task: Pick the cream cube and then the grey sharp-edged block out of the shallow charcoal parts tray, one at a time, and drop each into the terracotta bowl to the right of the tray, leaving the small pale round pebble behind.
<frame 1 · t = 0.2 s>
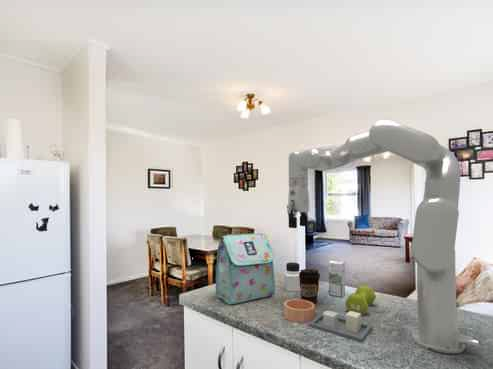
hand: (298, 226, 111), 31 cm above the worktop, fingers open, 9 cm apart
clear bottle: (337, 295, 124), on the worktop
bowl: (299, 317, 100), on the worktop
cream cube: (353, 328, 90), resting on tray
grey sharp-edged block: (330, 328, 90), resting on tray
dumbbell: (361, 309, 108), on the worktop
pebble c: (327, 320, 96), resting on tray
coffee cup: (309, 303, 113), on the worktop
lunch bag: (244, 297, 121), on the worktop
tray: (340, 329, 91), on the worktop
medicine bottle: (292, 289, 131), on the worktop
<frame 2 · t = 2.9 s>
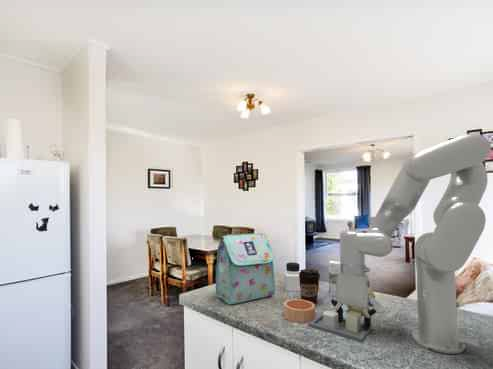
hand: (353, 325, 90), 2 cm above the worktop, fingers open, 7 cm apart
nothing on the worktop moved.
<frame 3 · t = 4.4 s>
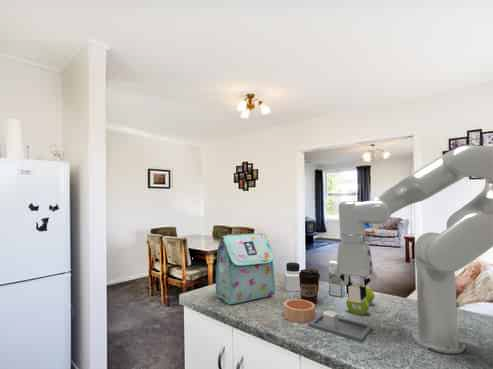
hand: (356, 297, 90), 10 cm above the worktop, fingers closed on cream cube, 3 cm apart
cream cube: (356, 300, 90), point 9 cm above the worktop, touching gripper
everything else where it was.
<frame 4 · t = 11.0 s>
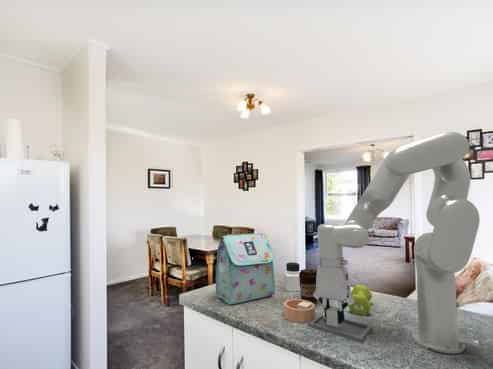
hand: (334, 320, 90), 3 cm above the worktop, fingers closed on grey sharp-edged block, 3 cm apart
cream cube: (304, 317, 99), resting on bowl
grey sharp-edged block: (334, 323, 90), point 2 cm above the worktop, touching gripper
when the fingers open (6 cm above the worktop, at t = 13.4 s): grey sharp-edged block drops 4 cm, resting on bowl.
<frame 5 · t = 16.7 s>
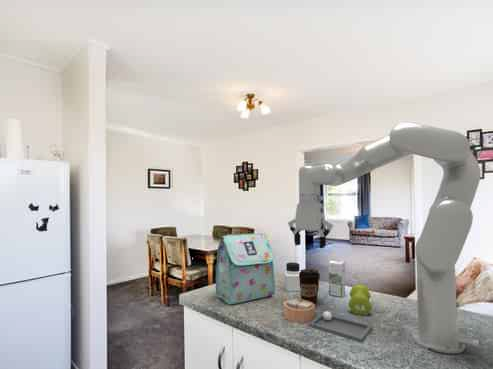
hand: (309, 246, 104), 24 cm above the worktop, fingers open, 9 cm apart
grey sharp-edged block: (294, 315, 101), resting on bowl
at the end: cream cube 2.0 cm from the bowl (horizontally); grey sharp-edged block 1.9 cm from the bowl (horizontally); grey sharp-edged block point 0.5 cm above the worktop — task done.
